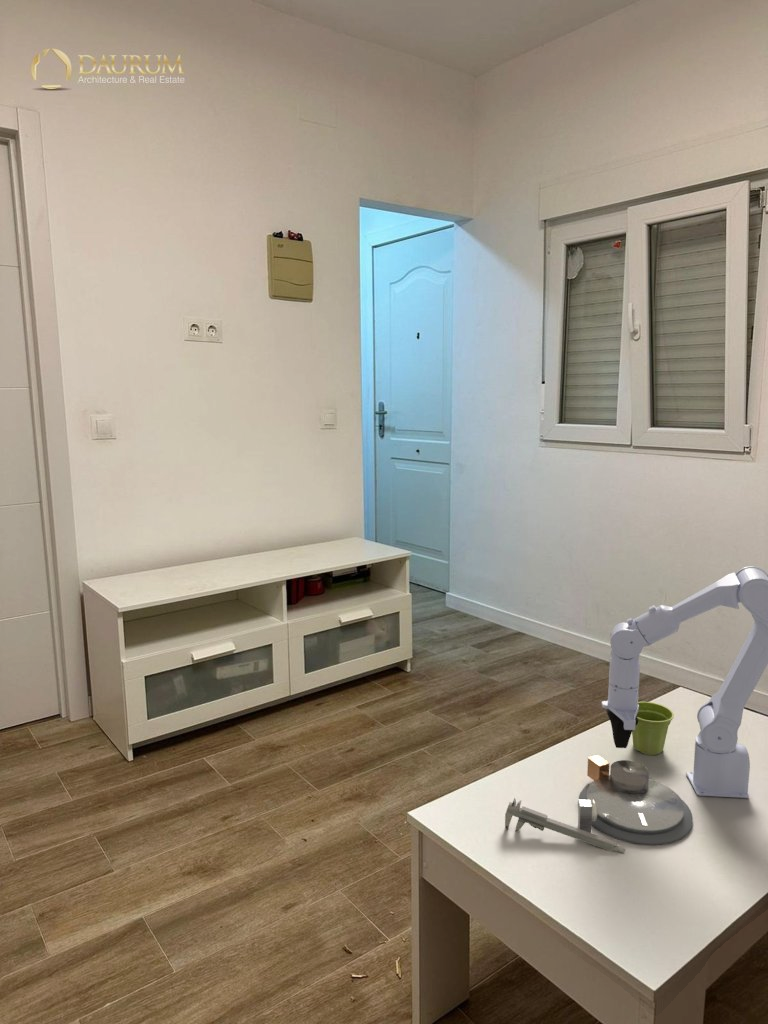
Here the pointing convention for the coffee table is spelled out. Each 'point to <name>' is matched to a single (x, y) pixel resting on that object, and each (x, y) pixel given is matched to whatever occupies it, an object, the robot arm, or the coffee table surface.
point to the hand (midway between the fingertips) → (620, 746)
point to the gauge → (587, 814)
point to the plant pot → (651, 727)
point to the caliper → (555, 826)
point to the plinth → (644, 838)
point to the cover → (629, 777)
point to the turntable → (633, 803)
